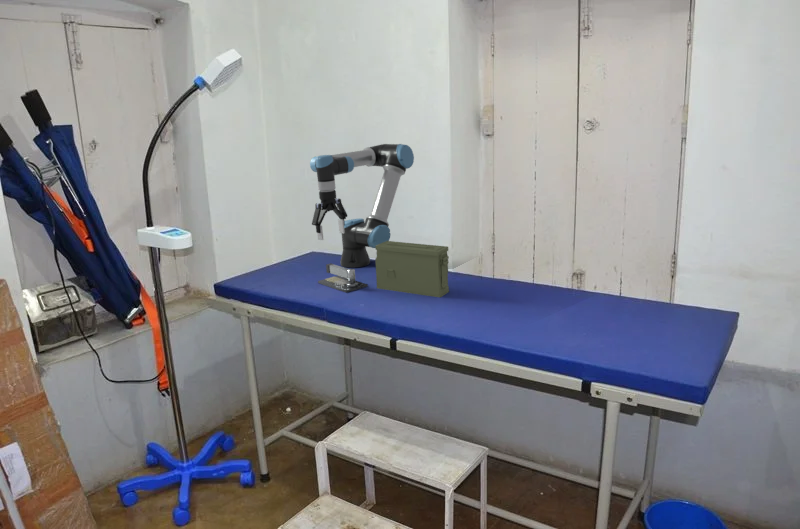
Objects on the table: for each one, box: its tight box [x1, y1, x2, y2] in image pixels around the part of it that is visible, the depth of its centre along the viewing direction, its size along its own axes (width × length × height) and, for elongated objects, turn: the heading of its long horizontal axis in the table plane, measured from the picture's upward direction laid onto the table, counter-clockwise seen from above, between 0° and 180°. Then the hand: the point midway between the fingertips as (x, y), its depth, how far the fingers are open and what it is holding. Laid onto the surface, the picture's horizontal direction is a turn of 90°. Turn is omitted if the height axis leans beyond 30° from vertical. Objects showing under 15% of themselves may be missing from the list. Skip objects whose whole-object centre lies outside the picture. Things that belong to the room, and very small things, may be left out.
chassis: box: [317, 275, 368, 294], centre depth 274 cm, size 12×22×2 cm, turn 41°
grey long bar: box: [325, 263, 357, 284], centre depth 273 cm, size 19×3×6 cm, turn 41°
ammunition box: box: [375, 240, 450, 298], centre depth 259 cm, size 10×33×20 cm, turn 59°
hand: (331, 236), depth 275 cm, fingers open, 13 cm apart
